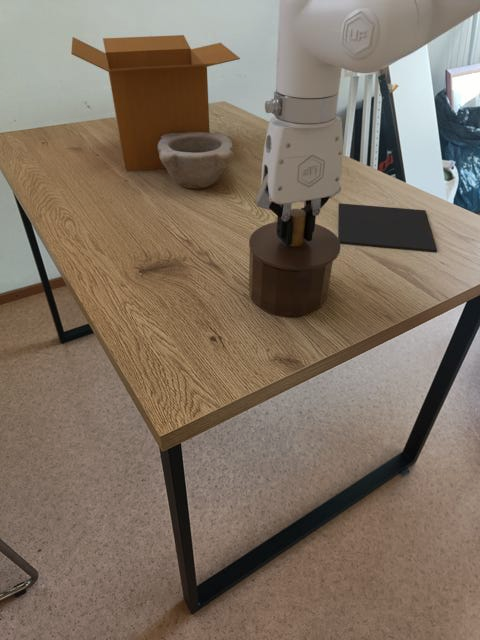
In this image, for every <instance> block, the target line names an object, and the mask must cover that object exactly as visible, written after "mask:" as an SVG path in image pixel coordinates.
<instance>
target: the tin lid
mask: <svg viewBox="0 0 480 640" xmlns="http://www.w3.org/2000/svg"><path fill="white" fill-rule="evenodd" d="M290 219H291V220H292V221H293V230H292V243H291V244H290V245H288V246H286V245H285V243H284V242H283V241H282V240H281V239H280V238H279V237H278V236H277V221H274V222H270V223H267V224H264V225H262V226H260V227H258V228H257V229H256V230H255V231H253V232H252V233H251V235H250V237H249V240H248V241H249V242H248V247H249V252H250V251H251V253H252V254H253V255H254V256H255V257H256V258H257V259H258V260H259V261H261V262H263V263H265V264H267V265H269V266H272V267H275V268H279V269H284V270H292V271H305V270H313V269H317V268H321V267H324V266H326V265H328V264H330V263H331V262H333V263H334V261H335V260H336V259H337V258H338V256H339V255H340V252H341V249H342V248H341V243H340V241H339V239H338V236H337V235H336V234H335V233H334V232H333V231H331V230H330V229H328V228H326V227H324V226H322V225H320V224H317V223H315V228H314V232H313V234H312V241H306V240H305V239H304V230H305V220H306V212H305V211H304V210H302V209H301V208H291V213H290Z"/></svg>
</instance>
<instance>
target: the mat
mask: <svg viewBox="0 0 480 640" xmlns="http://www.w3.org/2000/svg"><path fill="white" fill-rule="evenodd" d="M337 225H338V230H337V231H338V233H337V235H338V236H337V237H338V239H339V241H340V245H341V244H342V245H351V246H352V245H353V246H363V247H373V248H384V249H385V248H386V249H397V250H408V251H419V252H430V253H437V252H438V248H437V247H438V246H437V244H436V240H435V237H434V234H433V231H432V228H431V224H430V221H429V217H428V214H427V210H426V209H415V208H405V207H404V208H403V207H389V206H378V205H367V204H366V205H364V204H354V203H353V204H352V203H338V224H337Z"/></svg>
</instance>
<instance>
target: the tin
mask: <svg viewBox="0 0 480 640" xmlns="http://www.w3.org/2000/svg"><path fill="white" fill-rule="evenodd" d="M333 263H334V261H333V262H331V263H330V264H328V265H326V266H324V267H321V268H317V269H313V270H305V271H292V270H284V269H279V268H275V267H272V266H269V265H267V264H265V263H263V262H261V261H259V260H258V259H257V258H256V257H255V256H254V255H253V254H252V253H251V251H250V250H249V263H248V265H249V268H248V269H249V270H248V271H249V272H248V290H249V297H250V299H251V301H252V302H253V304H254V305H255V306H257V307H258V308H259V309H260V310H262V311H264V312H266V313H268V314H271V315H274V316H278V317H284V318H285V317H286V318H299V317H305V316H308V315H310V314H313V313H315V312H317V311H318V310H320V309H321V308H322V307H323V306H324V305H325V304H326V301H327V299H328V293H329V286H330V281H331V275H332V269H333Z"/></svg>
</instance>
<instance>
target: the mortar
mask: <svg viewBox="0 0 480 640" xmlns="http://www.w3.org/2000/svg"><path fill="white" fill-rule="evenodd" d="M233 148H234V144H233V142H232V140H231V138H230V135H229V134H227V133H225V132H219V131H218V132H210V133H207V132H187V133H168V134H164V135H163V136H161V140H160V141H159V143H158V152H159V157H160V160H161V162H162V163H163V165H164V166H165V167H164V168H165V169H166V171H167V172H168V174H169V175H170V177H171V178H172V179H173V181H174V182H175V183H176V184H177V185H179V186H181V187H182V188H187V189H191V190H193V189H194V190H199V189H205V188H209V187H211V186H213V185H214V184H216V183H217V182H218V180H219V179H220V178H221V176H222V174H223V173H224V171H225V169H226V168H227V167H228V166H230V165H231V163H232V162H233V161H234V157H235V154H234V151H233Z"/></svg>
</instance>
